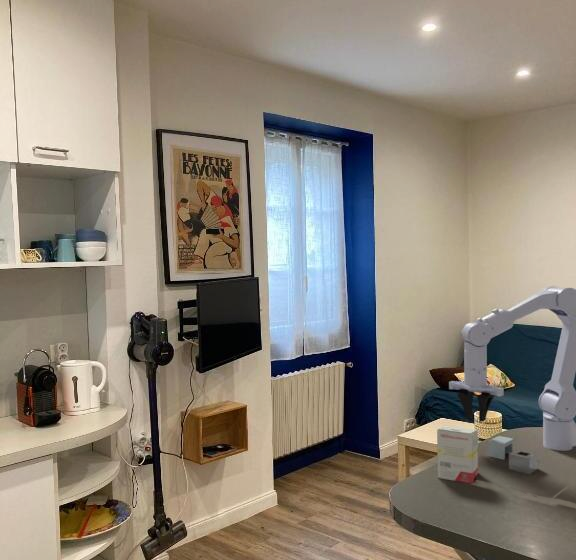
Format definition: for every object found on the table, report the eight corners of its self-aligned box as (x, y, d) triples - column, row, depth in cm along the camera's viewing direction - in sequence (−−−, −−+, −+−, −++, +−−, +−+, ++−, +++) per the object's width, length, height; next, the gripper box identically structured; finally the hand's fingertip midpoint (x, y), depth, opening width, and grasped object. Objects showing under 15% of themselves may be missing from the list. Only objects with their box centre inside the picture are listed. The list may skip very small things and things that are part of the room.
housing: (498, 450, 160) (498, 435, 160) (513, 454, 158) (513, 438, 158) (488, 456, 156) (488, 440, 156) (503, 459, 153) (503, 443, 153)
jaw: (517, 465, 150) (517, 449, 150) (538, 469, 146) (538, 453, 146) (508, 470, 146) (508, 454, 146) (529, 475, 143) (529, 458, 143)
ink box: (479, 478, 144) (478, 428, 144) (473, 484, 140) (473, 433, 140) (443, 471, 149) (443, 423, 149) (436, 477, 145) (436, 428, 145)
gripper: (443, 367, 163) (443, 417, 164) (495, 373, 153) (495, 427, 154) (456, 363, 168) (456, 412, 169) (507, 369, 158) (507, 421, 159)
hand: (475, 419), depth 162 cm, fingers open, 3 cm apart
